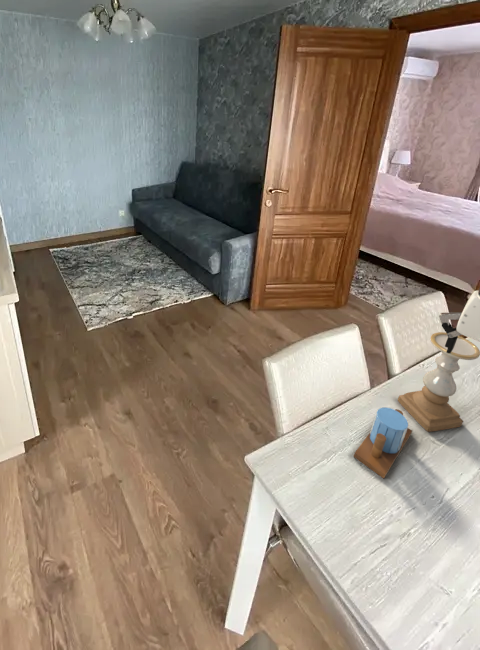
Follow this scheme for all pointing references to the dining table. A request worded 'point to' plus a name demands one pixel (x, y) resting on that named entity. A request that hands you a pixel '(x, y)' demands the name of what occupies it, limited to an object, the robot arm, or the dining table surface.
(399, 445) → the cup
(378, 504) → the dining table surface
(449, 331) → the robot arm
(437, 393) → the candle holder
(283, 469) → the dining table surface
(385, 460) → the rack
